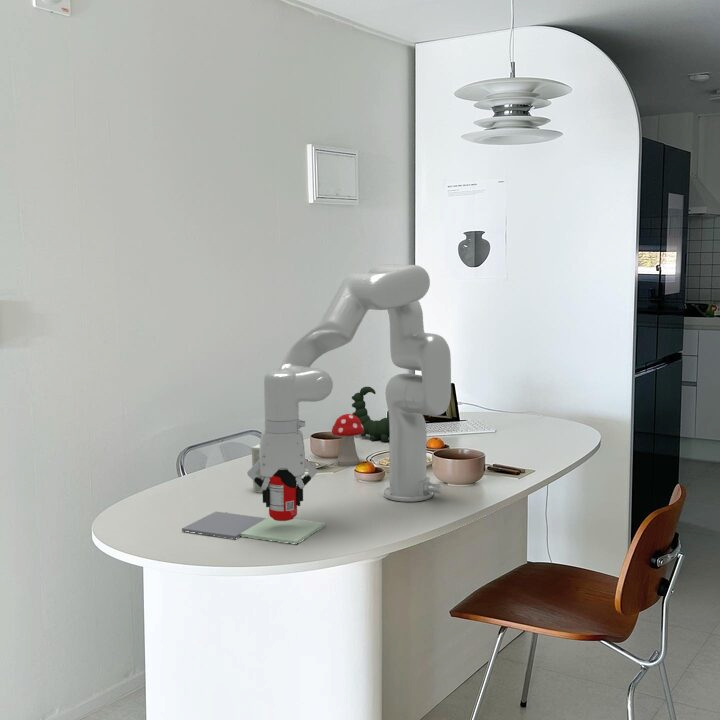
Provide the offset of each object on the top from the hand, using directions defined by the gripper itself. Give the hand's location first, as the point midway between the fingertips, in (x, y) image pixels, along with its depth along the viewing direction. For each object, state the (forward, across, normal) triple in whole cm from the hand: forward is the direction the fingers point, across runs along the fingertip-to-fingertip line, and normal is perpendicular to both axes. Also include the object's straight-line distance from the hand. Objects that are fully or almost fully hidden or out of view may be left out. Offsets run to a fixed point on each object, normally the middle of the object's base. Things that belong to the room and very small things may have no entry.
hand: (282, 504), depth 196 cm
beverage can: (+3, 0, 0) cm, 3 cm away
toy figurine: (+6, -39, -90) cm, 98 cm away
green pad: (+6, 0, 0) cm, 6 cm away
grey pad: (+6, +13, -6) cm, 15 cm away
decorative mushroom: (+6, -22, -60) cm, 64 cm away
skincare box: (+7, +3, -34) cm, 35 cm away
